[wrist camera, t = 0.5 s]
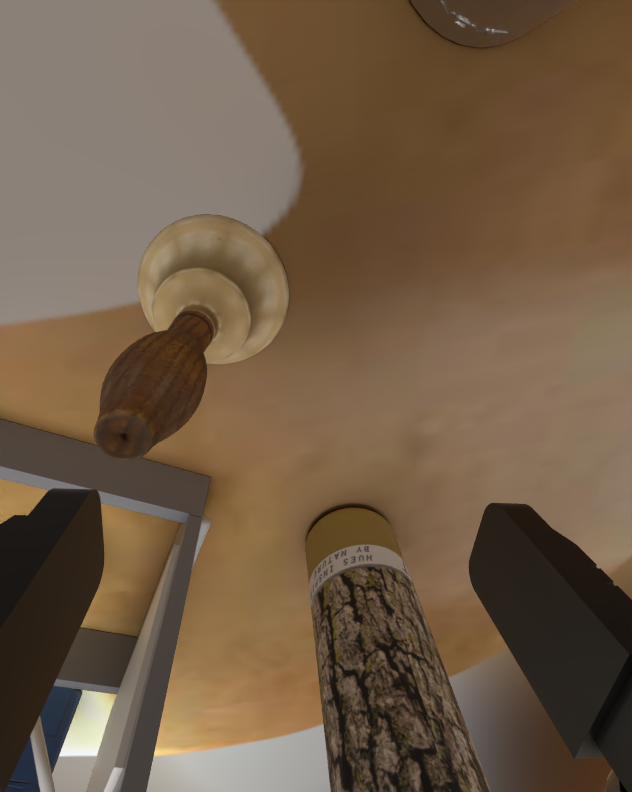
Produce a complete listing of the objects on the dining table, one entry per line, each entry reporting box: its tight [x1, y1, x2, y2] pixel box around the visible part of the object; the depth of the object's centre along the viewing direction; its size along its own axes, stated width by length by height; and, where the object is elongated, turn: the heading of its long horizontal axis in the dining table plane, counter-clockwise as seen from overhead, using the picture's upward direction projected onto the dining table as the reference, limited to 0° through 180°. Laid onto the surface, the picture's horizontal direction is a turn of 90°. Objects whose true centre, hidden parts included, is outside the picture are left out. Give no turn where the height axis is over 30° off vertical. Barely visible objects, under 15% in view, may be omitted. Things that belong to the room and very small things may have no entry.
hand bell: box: [94, 214, 289, 460], centre depth 17 cm, size 8×8×16 cm
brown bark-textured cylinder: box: [306, 508, 491, 792], centre depth 21 cm, size 7×7×25 cm
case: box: [0, 419, 211, 792], centre depth 23 cm, size 19×16×17 cm
